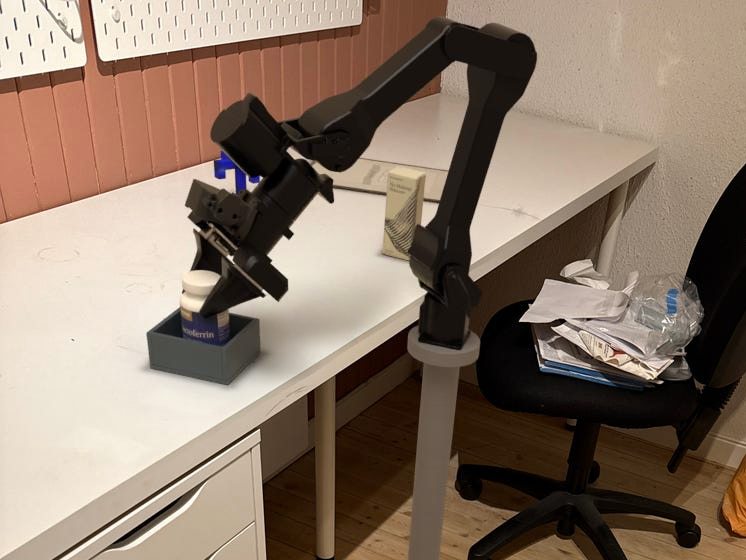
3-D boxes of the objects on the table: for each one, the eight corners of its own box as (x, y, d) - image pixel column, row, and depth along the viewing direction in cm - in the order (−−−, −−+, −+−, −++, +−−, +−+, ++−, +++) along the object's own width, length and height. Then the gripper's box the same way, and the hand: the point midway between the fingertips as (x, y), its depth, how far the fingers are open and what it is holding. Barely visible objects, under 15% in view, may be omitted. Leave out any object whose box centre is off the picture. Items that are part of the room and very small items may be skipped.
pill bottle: (176, 359, 119) (168, 280, 113) (197, 342, 123) (190, 264, 117) (219, 369, 118) (213, 289, 112) (239, 351, 123) (234, 273, 116)
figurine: (267, 204, 169) (265, 129, 161) (260, 217, 164) (257, 141, 156) (224, 198, 169) (220, 123, 161) (215, 212, 163) (210, 135, 155)
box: (381, 254, 157) (385, 170, 148) (391, 247, 160) (395, 164, 152) (411, 261, 156) (416, 178, 147) (421, 254, 159) (426, 171, 151)
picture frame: (463, 173, 197) (319, 152, 197) (464, 172, 197) (319, 151, 196) (454, 204, 181) (297, 182, 180) (454, 203, 180) (297, 180, 180)
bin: (260, 352, 125) (259, 318, 122) (227, 385, 117) (225, 349, 114) (187, 337, 125) (184, 302, 123) (150, 368, 118) (145, 332, 115)
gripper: (197, 132, 113) (115, 235, 115) (258, 180, 102) (167, 294, 104) (262, 197, 122) (186, 292, 124) (325, 248, 111) (240, 352, 113)
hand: (193, 305), depth 116 cm, fingers closed on pill bottle, 6 cm apart
